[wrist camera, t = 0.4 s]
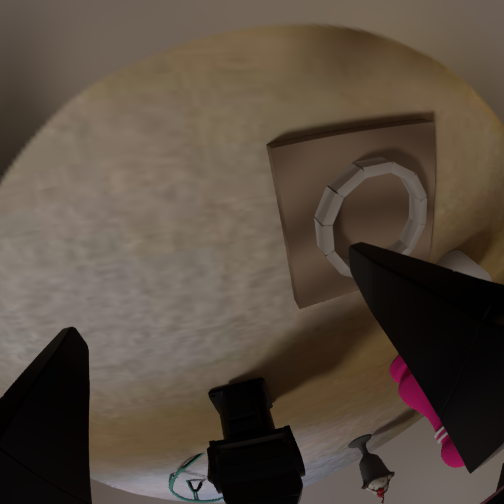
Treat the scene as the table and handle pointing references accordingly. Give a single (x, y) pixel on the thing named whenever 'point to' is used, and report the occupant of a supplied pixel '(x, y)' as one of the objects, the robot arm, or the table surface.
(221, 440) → the robot arm
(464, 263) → the lens
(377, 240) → the mount board
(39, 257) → the table surface
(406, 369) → the pepper mill
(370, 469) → the sundae
